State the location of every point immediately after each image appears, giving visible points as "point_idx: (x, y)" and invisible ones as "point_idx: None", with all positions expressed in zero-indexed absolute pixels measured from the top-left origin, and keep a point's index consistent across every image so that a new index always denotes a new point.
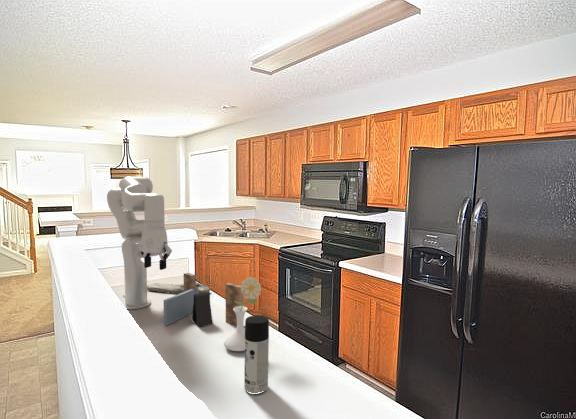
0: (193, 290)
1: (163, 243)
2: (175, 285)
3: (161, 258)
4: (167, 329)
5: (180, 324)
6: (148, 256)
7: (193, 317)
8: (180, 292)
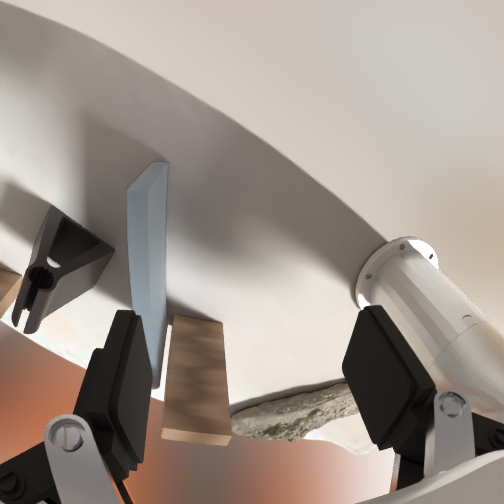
0: None
1: None
2: (346, 411)
3: (75, 440)
4: (131, 139)
5: (119, 197)
6: (401, 440)
7: (94, 246)
8: (311, 394)
